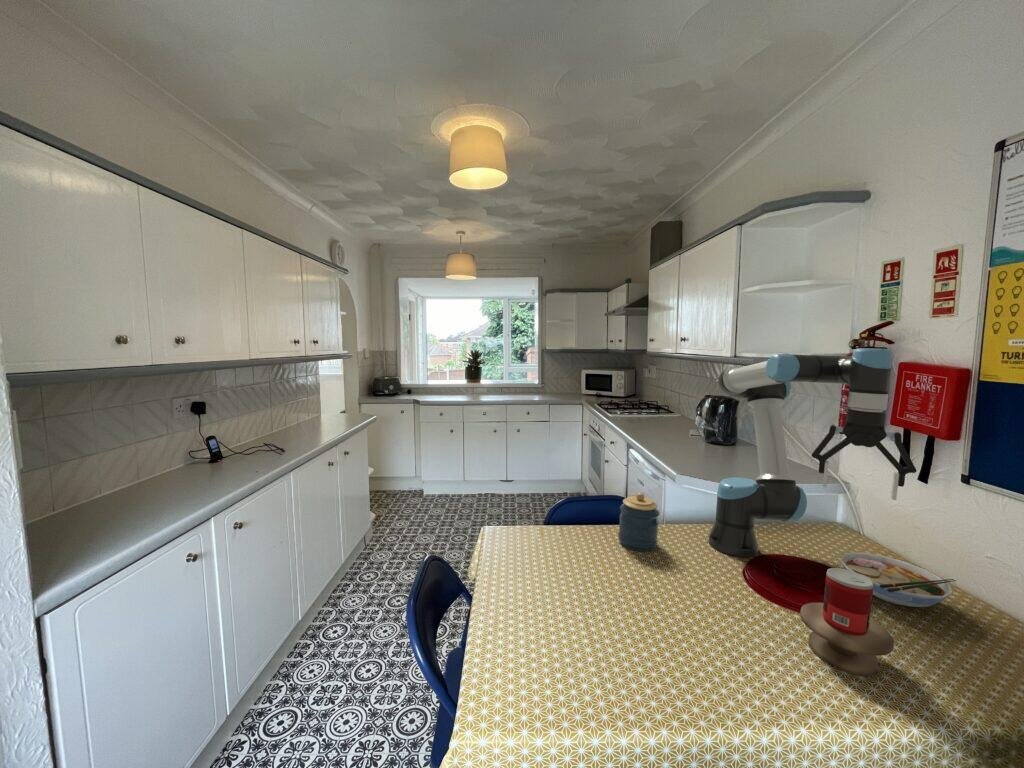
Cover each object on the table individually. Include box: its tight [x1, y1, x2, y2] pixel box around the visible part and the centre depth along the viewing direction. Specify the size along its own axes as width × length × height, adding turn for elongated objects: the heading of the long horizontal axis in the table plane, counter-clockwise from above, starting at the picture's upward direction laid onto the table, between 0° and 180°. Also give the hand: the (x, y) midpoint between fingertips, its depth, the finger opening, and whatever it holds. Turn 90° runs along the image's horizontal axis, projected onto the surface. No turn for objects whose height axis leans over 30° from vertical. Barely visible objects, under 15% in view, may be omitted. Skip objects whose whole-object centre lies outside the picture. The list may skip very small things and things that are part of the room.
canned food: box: [822, 567, 874, 635], centre depth 91 cm, size 8×8×11 cm
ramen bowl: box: [840, 552, 957, 608], centre depth 114 cm, size 25×23×8 cm
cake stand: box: [799, 602, 895, 677], centre depth 91 cm, size 16×16×7 cm
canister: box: [617, 492, 660, 552], centre depth 142 cm, size 13×13×18 cm
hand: (857, 491), depth 106 cm, fingers open, 13 cm apart
